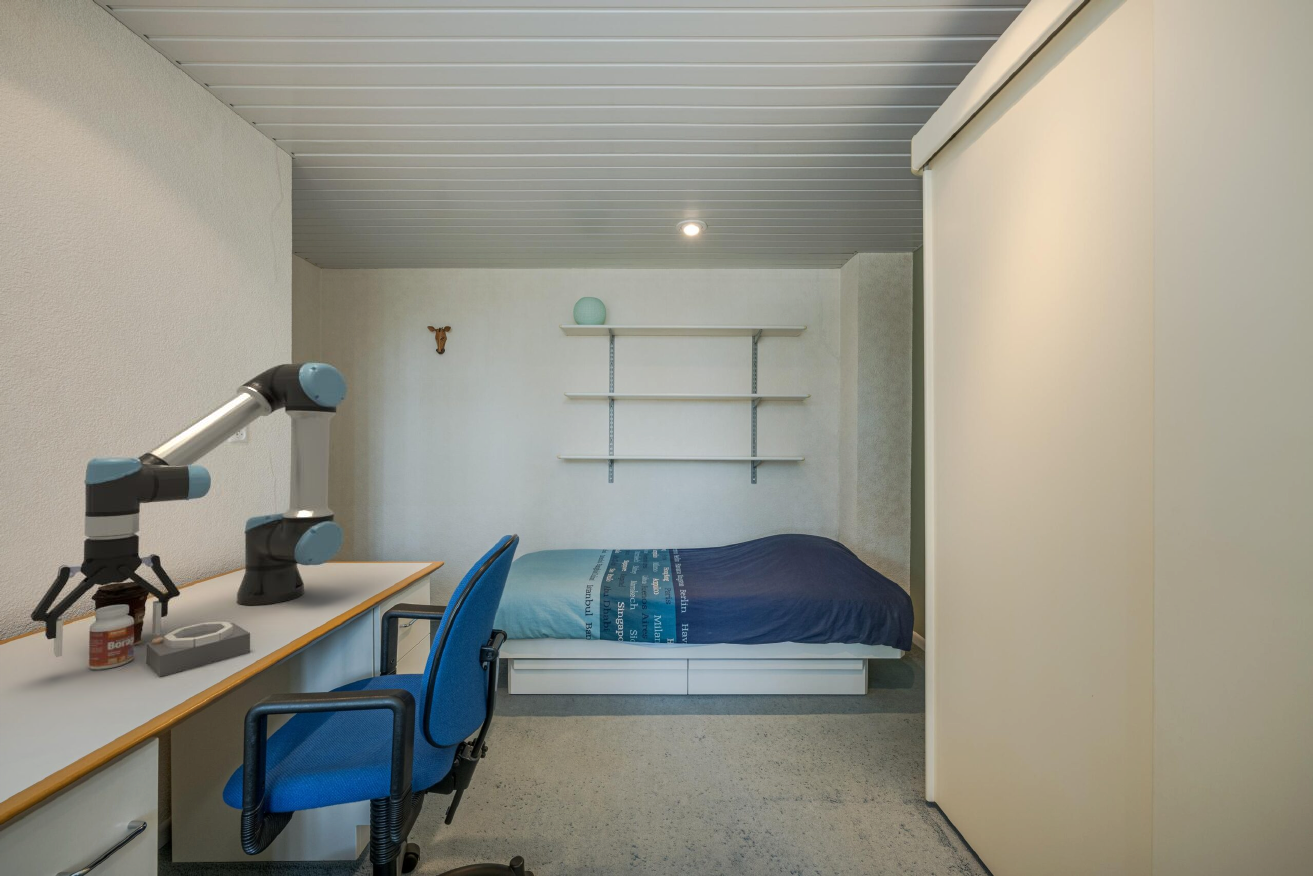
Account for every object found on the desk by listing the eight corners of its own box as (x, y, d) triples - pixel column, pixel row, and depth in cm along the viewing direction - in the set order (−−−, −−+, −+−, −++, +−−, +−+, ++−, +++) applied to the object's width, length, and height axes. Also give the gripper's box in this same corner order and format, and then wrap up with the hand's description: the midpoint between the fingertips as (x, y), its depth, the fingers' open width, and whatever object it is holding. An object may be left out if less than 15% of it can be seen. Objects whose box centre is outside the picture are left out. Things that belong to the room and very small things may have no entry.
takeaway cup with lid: (110, 655, 108) (110, 592, 108) (79, 651, 109) (80, 589, 109) (158, 639, 116) (158, 580, 116) (129, 636, 118) (129, 578, 118)
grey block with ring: (233, 641, 116) (233, 616, 116) (250, 652, 110) (250, 626, 110) (146, 663, 104) (146, 635, 104) (159, 677, 99) (160, 647, 99)
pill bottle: (109, 671, 101) (109, 613, 101) (79, 670, 101) (79, 612, 101) (142, 657, 107) (143, 603, 107) (114, 656, 107) (114, 602, 107)
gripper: (188, 526, 116) (186, 622, 116) (10, 542, 96) (7, 659, 96) (199, 529, 112) (197, 629, 112) (15, 548, 91) (12, 670, 91)
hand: (109, 643), depth 104 cm, fingers open, 13 cm apart
